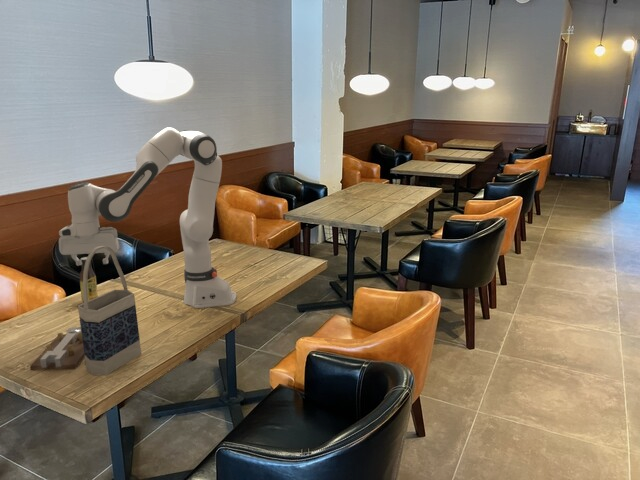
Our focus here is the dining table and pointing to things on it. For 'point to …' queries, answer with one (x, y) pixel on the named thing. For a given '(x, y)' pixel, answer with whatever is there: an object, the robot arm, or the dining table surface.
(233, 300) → the robot arm
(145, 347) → the dining table surface
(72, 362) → the peg rack
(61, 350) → the ball-tipped notched rod
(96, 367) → the bag
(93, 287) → the sauce bottle
